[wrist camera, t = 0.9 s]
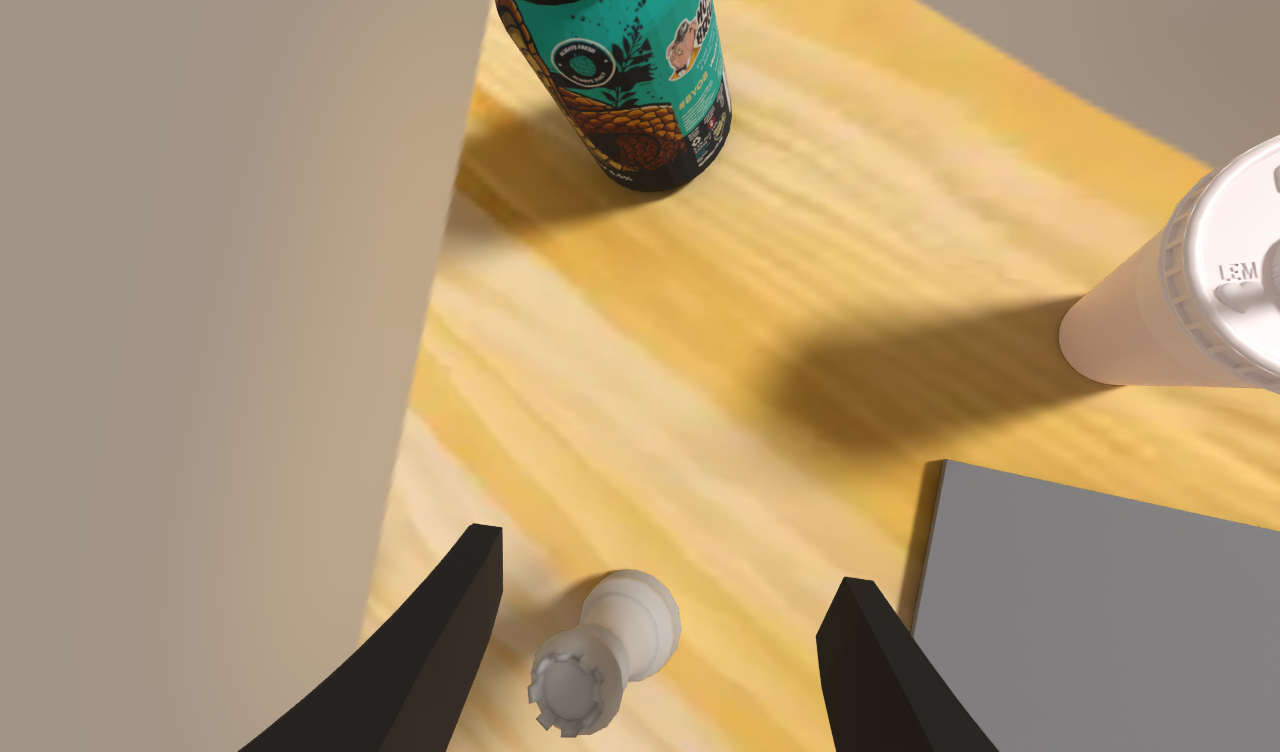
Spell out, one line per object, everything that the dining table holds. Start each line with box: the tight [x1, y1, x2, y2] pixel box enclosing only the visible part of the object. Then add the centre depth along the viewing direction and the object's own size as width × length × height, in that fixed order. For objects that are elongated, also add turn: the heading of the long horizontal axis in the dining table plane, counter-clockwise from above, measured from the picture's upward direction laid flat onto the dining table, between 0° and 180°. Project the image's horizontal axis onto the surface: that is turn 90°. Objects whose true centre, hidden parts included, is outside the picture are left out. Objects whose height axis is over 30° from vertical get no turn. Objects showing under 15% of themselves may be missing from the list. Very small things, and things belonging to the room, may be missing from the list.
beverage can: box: [495, 0, 732, 192], centre depth 22 cm, size 7×7×12 cm
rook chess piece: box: [528, 570, 682, 737], centre depth 21 cm, size 4×4×8 cm
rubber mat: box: [910, 459, 1280, 752], centre depth 19 cm, size 14×14×1 cm
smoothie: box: [1059, 135, 1280, 394], centre depth 14 cm, size 6×6×14 cm
